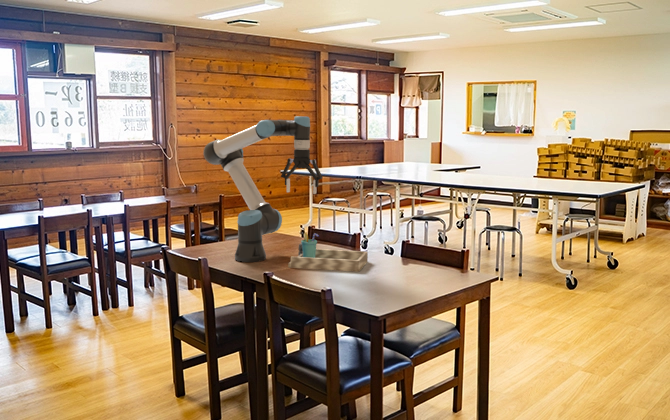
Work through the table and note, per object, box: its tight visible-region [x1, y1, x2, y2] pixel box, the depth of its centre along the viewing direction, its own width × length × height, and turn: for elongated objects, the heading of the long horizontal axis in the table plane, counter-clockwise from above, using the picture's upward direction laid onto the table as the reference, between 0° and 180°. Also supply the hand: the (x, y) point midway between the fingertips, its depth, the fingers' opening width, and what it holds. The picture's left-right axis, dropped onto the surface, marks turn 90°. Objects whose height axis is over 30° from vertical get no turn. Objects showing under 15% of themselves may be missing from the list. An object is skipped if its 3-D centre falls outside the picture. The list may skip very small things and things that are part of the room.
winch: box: [297, 242, 303, 257], centre depth 314 cm, size 7×5×8 cm
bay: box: [287, 248, 369, 273], centre depth 295 cm, size 33×20×5 cm, turn 76°
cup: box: [300, 232, 320, 258], centre depth 296 cm, size 14×8×15 cm, turn 37°
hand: (301, 193), depth 303 cm, fingers open, 13 cm apart
